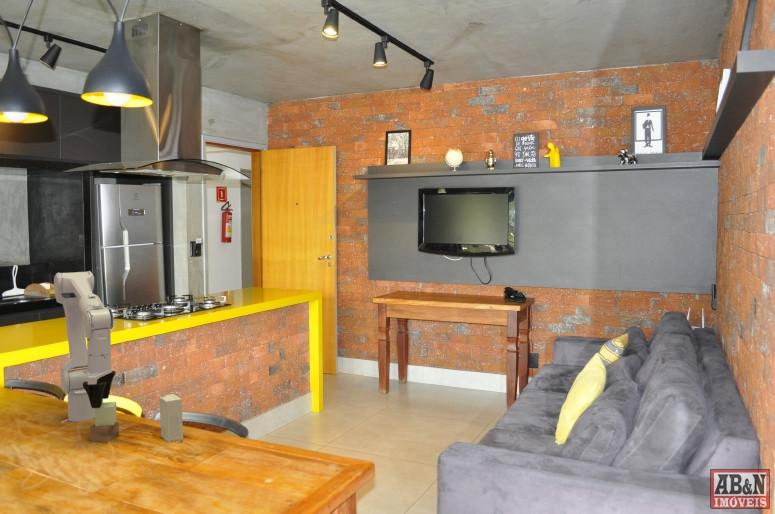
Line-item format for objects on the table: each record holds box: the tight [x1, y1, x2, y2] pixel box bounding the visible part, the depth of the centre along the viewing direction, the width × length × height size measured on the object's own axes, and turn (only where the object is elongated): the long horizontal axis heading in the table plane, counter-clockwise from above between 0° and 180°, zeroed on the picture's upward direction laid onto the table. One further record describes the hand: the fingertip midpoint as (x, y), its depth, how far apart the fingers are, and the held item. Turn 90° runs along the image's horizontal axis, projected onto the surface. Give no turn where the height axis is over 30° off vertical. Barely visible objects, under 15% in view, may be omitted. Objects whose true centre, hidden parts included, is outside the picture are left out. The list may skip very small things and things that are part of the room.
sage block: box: [94, 401, 117, 426], centre depth 164 cm, size 4×4×5 cm
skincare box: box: [158, 393, 184, 445], centre depth 165 cm, size 6×4×12 cm
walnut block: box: [89, 421, 120, 444], centre depth 164 cm, size 5×5×4 cm
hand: (100, 402), depth 165 cm, fingers open, 7 cm apart
